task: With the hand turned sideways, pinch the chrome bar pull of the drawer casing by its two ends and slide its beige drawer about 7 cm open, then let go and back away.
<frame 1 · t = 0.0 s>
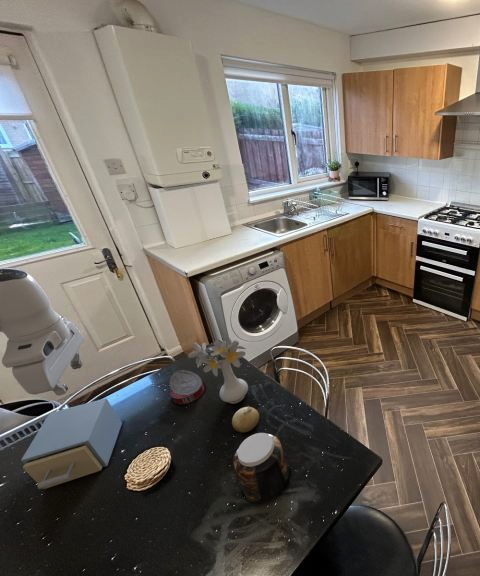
hand: (71, 379, 78), 31 cm above the table, tool pointing down, fingers open, 8 cm apart
jar: (266, 481, 86), on the table
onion: (247, 425, 101), on the table
flower vase: (234, 398, 111), on the table
beige drawer: (71, 453, 87), point 6 cm above the table, slide at 0.5 cm
drawer casing: (87, 451, 94), on the table
canned food: (189, 393, 113), on the table
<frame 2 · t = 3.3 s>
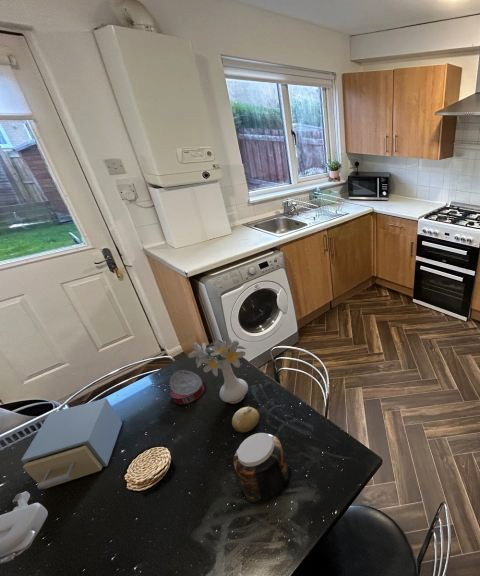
nothing on the table moved.
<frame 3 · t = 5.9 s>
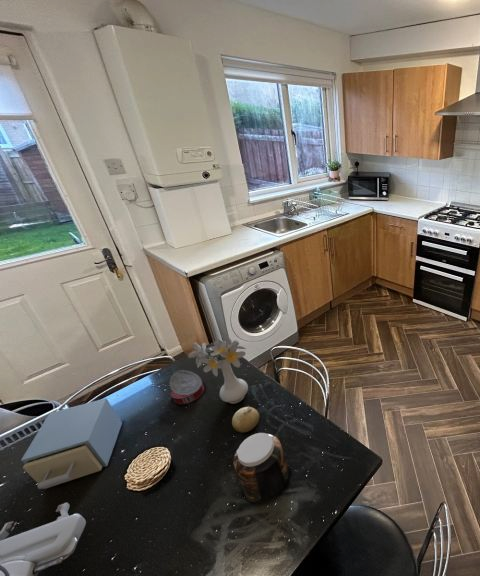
hand: (38, 513, 73), 7 cm above the table, tool horizontal, fingers open, 8 cm apart
nothing on the table moved.
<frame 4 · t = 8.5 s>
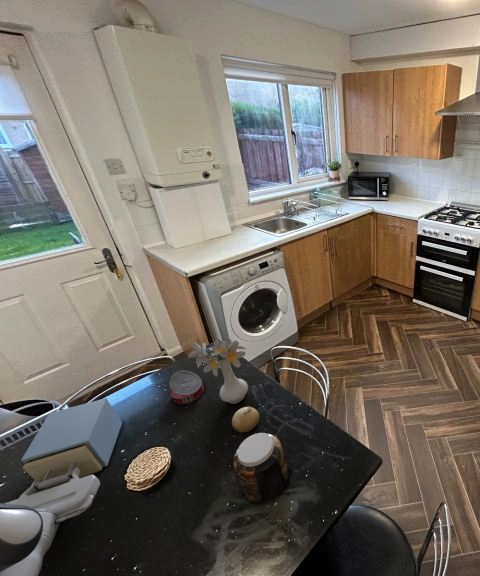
hand: (57, 475, 80), 7 cm above the table, tool horizontal, fingers closed on beige drawer, 6 cm apart
beige drawer: (71, 453, 87), point 6 cm above the table, slide at 0.5 cm, touching gripper
everything else where it was.
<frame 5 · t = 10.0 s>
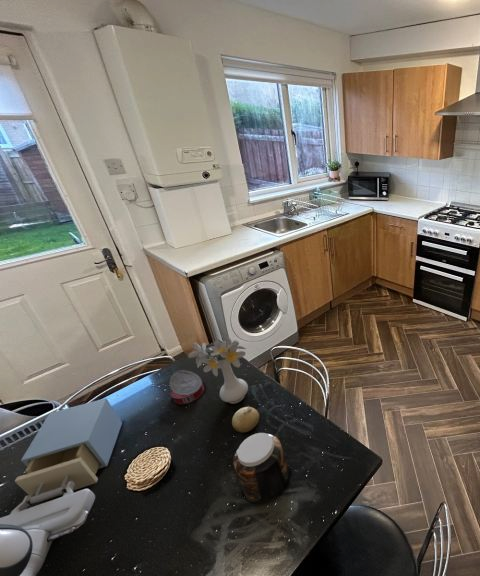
hand: (50, 489, 78), 7 cm above the table, tool horizontal, fingers closed on beige drawer, 6 cm apart
beige drawer: (65, 465, 84), point 6 cm above the table, slide at 4.2 cm, touching gripper
everything else where it was.
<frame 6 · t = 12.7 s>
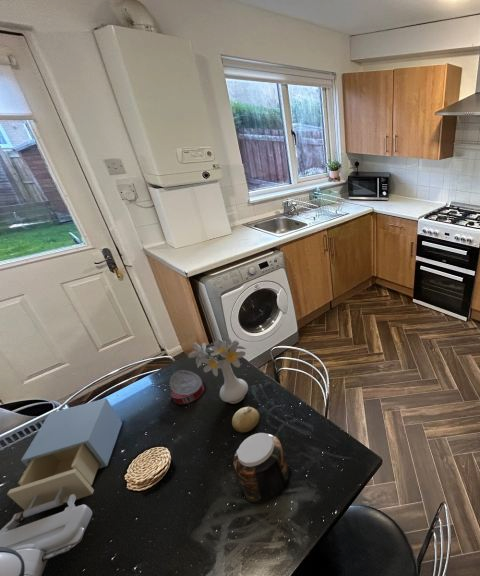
hand: (46, 504, 75), 6 cm above the table, tool horizontal, fingers open, 8 cm apart
beige drawer: (60, 476, 81), point 6 cm above the table, slide at 7.4 cm
everything else where it was.
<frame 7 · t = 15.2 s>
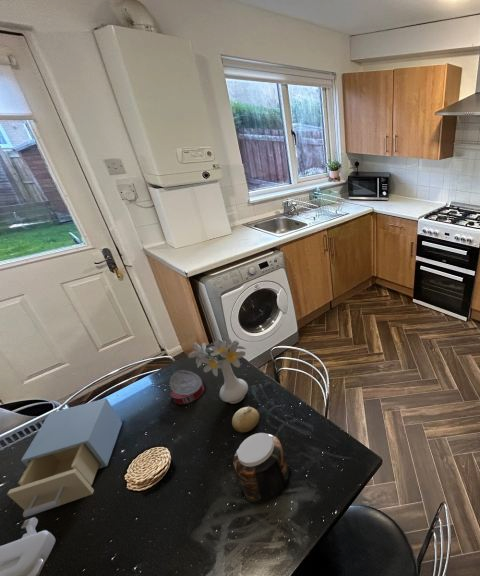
hand: (2, 530, 65), 13 cm above the table, tool horizontal, fingers open, 8 cm apart
nothing on the table moved.
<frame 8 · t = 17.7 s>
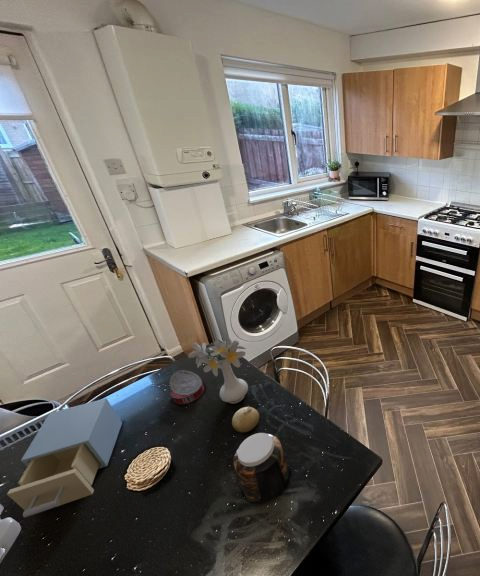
nothing on the table moved.
at the end: beige drawer slide at 7.4 cm; the gripper is holding nothing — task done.
